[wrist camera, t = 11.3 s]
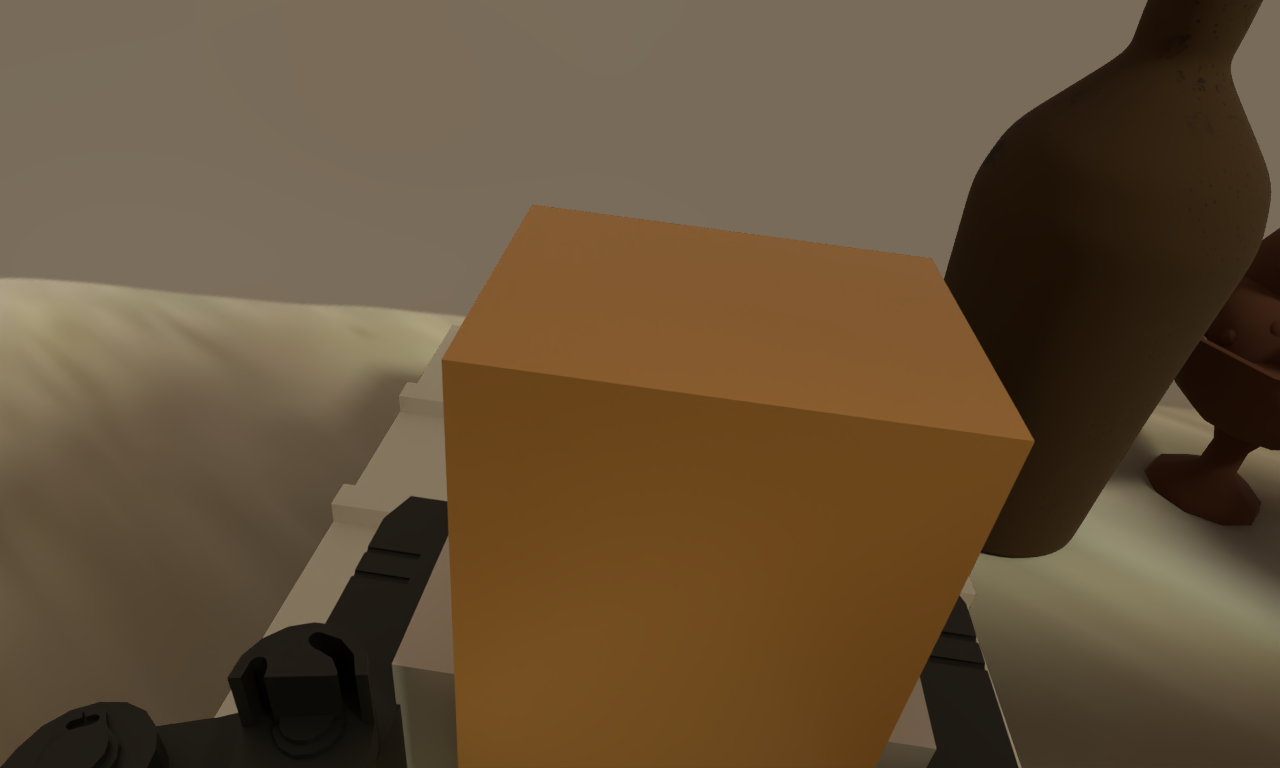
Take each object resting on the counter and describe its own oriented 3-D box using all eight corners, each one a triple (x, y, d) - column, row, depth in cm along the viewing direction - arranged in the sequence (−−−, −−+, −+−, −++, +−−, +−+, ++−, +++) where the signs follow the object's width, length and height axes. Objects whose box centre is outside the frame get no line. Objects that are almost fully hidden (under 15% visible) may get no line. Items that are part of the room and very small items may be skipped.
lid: (879, 419, 30) (1009, 40, 22) (1098, 1158, 12) (1995, 573, 5) (453, 360, 30) (441, -35, 23) (92, 1006, 13) (-466, 235, 5)
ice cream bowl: (1064, 478, 42) (1205, 215, 34) (1133, 410, 49) (1264, 178, 41) (1291, 600, 36) (1529, 316, 28) (1333, 502, 43) (1535, 252, 34)
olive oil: (944, 582, 34) (1245, -60, 21) (839, 437, 43) (1003, -87, 29) (1136, 558, 37) (1513, -24, 23) (1001, 426, 46) (1221, -59, 32)
